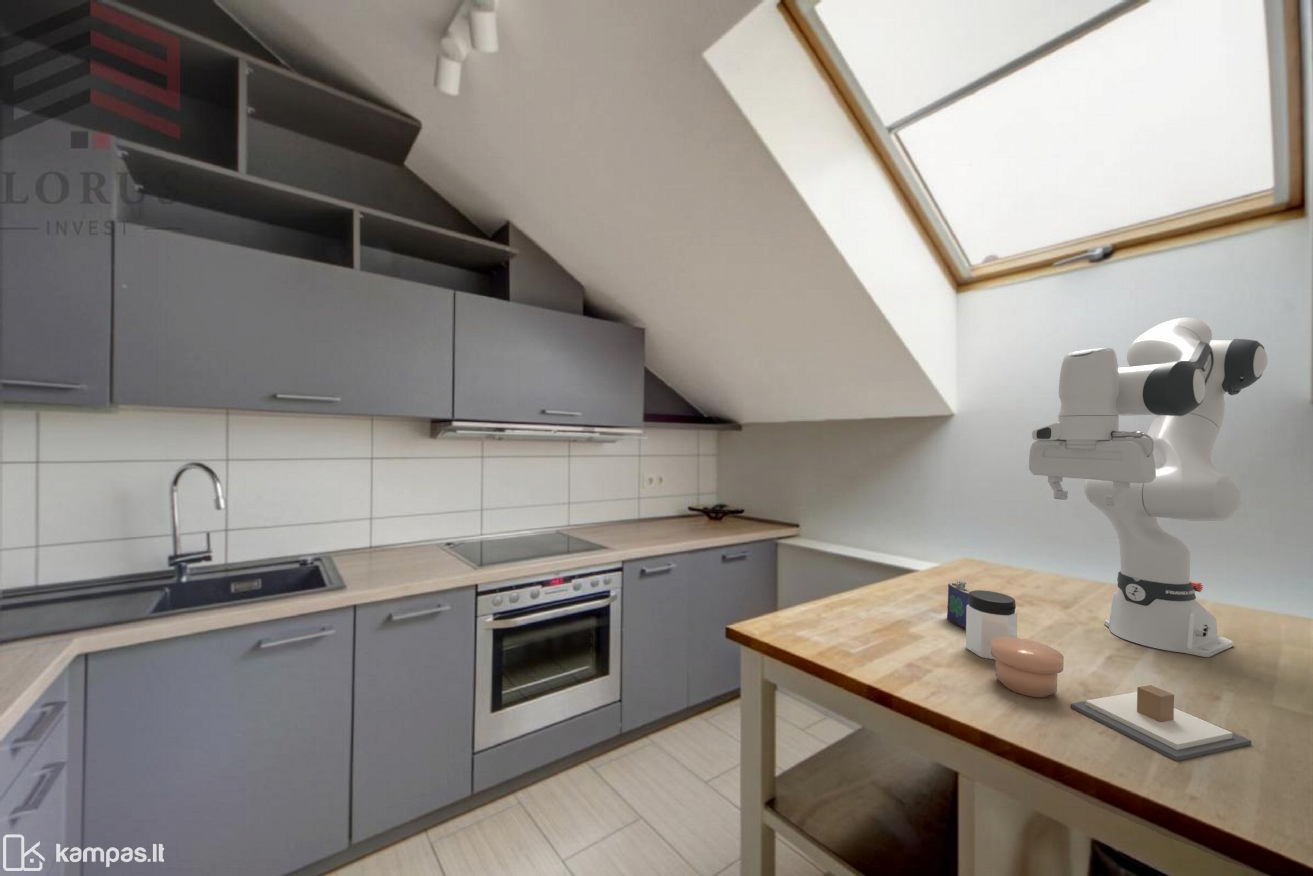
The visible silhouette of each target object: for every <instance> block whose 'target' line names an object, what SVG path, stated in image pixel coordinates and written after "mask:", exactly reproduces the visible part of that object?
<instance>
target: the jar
mask: <svg viewBox="0 0 1313 876" xmlns="http://www.w3.org/2000/svg"><path fill="white" fill-rule="evenodd" d="M970 591H971V592H969V604H968V605H967V606H966V630H965V648H966V650H969V651H970V652H972V653H974V654H975V655H977V656H978V657H980V658H983V659H988V658H989V659H988V660H993V659H994V661H996V659H995V658H994V657H993V656H992V655H991V640H992V639H994V638H997V637H1014V638H1018V612H1017V611H1016V606H1017V605H1016V600H1015V598H1013V597H1012V596H1010V595H1008V594H1004V593H1001V592H997V591H991V590H983V589H982V590H975V589H974V590H970Z"/></svg>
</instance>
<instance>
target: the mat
mask: <svg viewBox="0 0 1313 876" xmlns="http://www.w3.org/2000/svg"><path fill="white" fill-rule="evenodd" d="M1085 702H1086V700H1085V701H1079V702H1073V703H1070V707H1069V708H1071V709H1074V710H1075V711H1076V712H1079V713H1080V714H1082V715H1084V716H1086V717H1089V718H1091V719H1093V720H1095V721H1097V722H1098V723H1101V724H1103V725H1105V726H1106V727H1109V728H1110V729H1112V730H1114V731H1117V732H1118V733H1120V734H1123V735H1125V736H1127V737H1129V738H1130V739H1131V740H1135V741H1137V742H1138V743H1140V744H1142V745H1144V746H1147V747H1148V748H1151V749H1152V750H1154V751H1156V752H1158V753H1159V754H1162V755H1164V756H1166V757H1168V758H1169V759H1172V760H1174V761H1177V762H1178V761H1182V760H1187V759H1191V758H1196V757H1201V756H1205V755H1209V754H1215V753H1218V752H1224V751H1228V750H1233V749H1237V748H1240V747H1245V746H1250V745H1252V740H1251V739H1249V738H1248V737H1245V736H1242V735H1239V734H1237V733H1235V732H1232V731H1231V732H1232V733H1233V738H1230V739H1226V740H1221V741H1217V742H1212V743H1207V744H1203V745H1198V746H1193V747H1189V748H1184V749H1179V750H1176V749H1174V748H1172V747H1170V746H1168V745H1166V744H1164V743H1162V742H1160V741H1158V740H1155V739H1153V738H1151V737H1149V736H1147V735H1145V734H1143V733H1141V732H1139V731H1137V730H1135V729H1133V728H1131V727H1129V726H1127V725H1125V724H1123V723H1121V722H1119V721H1117V720H1115V719H1112V718H1110V717H1108V716H1106V715H1104V714H1102V713H1100V712H1098V711H1096V710H1094V709H1092V708H1090V707H1088V706H1086V705H1085ZM1177 709H1178V708H1177ZM1178 710H1180V711H1182V710H1181V709H1178ZM1184 712H1185V711H1184ZM1185 713H1187V714H1189V713H1188V712H1185ZM1191 715H1192V714H1191ZM1192 716H1194V717H1196V716H1195V715H1192ZM1198 718H1199V719H1201V718H1200V717H1198ZM1201 720H1204V721H1206V722H1208V723H1211V722H1209V721H1207V720H1205V719H1201ZM1211 724H1213V725H1215V724H1214V723H1211ZM1217 726H1218V725H1217ZM1218 727H1220V728H1222V726H1218ZM1224 729H1225V728H1224ZM1225 730H1227V731H1229V730H1228V729H1225Z"/></svg>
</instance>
